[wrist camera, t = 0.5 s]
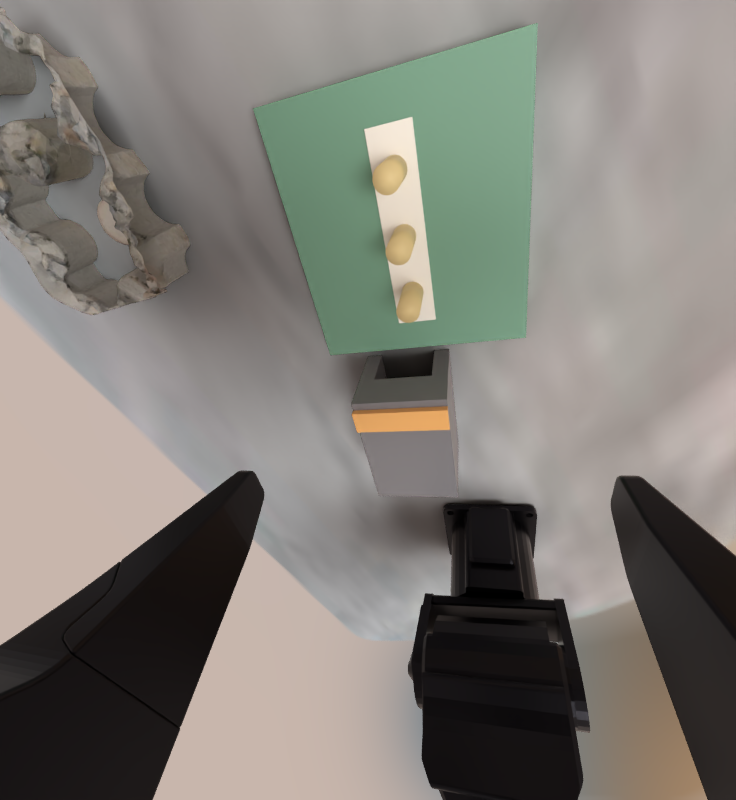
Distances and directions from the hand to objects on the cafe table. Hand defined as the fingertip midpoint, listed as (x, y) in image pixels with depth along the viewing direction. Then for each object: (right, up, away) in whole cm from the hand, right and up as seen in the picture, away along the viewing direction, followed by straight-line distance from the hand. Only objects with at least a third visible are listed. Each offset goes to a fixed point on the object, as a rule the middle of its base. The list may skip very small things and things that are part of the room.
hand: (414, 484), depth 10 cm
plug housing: (+2, +2, +14) cm, 14 cm away
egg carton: (-15, +13, +10) cm, 22 cm away
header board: (+1, +10, +8) cm, 12 cm away
